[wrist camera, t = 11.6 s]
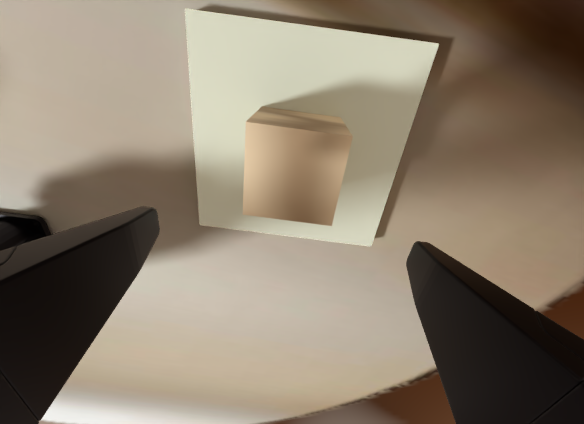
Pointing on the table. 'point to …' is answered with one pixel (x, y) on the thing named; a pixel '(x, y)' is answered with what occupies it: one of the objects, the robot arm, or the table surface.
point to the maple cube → (294, 165)
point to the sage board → (304, 98)
